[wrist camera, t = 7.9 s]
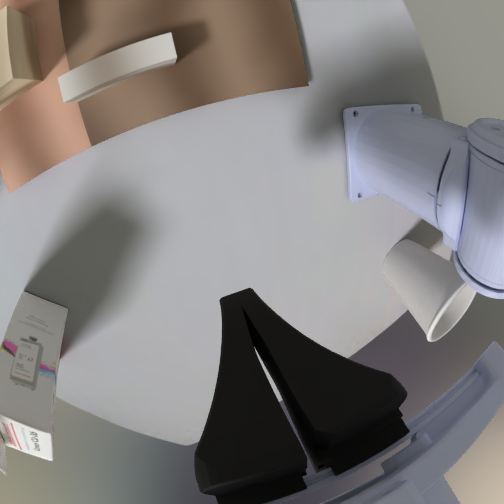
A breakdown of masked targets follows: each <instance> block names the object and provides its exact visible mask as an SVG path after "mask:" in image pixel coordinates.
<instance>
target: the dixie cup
mask: <svg viewBox="0 0 504 504" xmlns="http://www.w3.org/2000/svg"><path fill="white" fill-rule="evenodd" d="M382 275H383V277H384V278H385V279H386V281H387V282H388V283H389V284H390V286H391V287H392V288H393V290H394V291H395V292H396V294H397V295H398V296H399V298H400V299H401V300H402V301H403V303H404V304H405V306H406V307H407V308H408V310H409V311H410V312H411V314H412V315H413V316H414V318H415V319H416V321H417V322H418V323H419V325H420V326H421V328H422V329H423V330H424V332H425V333H426V335H427V340H428V341H430V342H432V341H436V340H438V339H440V338H441V337H442V336H444V335H445V334H446V333H447V332H448V331H449V330H450V329H452V328H453V326H454V325H455V324H456V323H457V322H458V321H459V320H460V318H461V317H462V315H463V314H464V313H465V312H466V310H467V309H468V307H469V305H470V304H471V302H472V300H473V298H474V296H475V294H476V291H475V290H474V289H473V288H471V287H470V286H469V285H468V284H467V283H466V282H465V281H464V280H463V279H462V278H461V276H460V275H459V273H458V271H457V269H456V267H455V265H454V264H452V263H451V262H449V261H448V260H446V259H444V258H442V257H441V256H439V255H437V254H435V253H434V252H432V251H430V250H428V249H427V248H425V247H424V246H422V245H420V244H418V243H416V242H414V241H412V240H410V239H404V240H402V241H400V242H398V243H397V244H396V245H395V246H394V247H393V248H392V249H391V250H390V252H389V253H388V255H387V256H386V258H385V260H384V263H383V266H382Z"/></svg>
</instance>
